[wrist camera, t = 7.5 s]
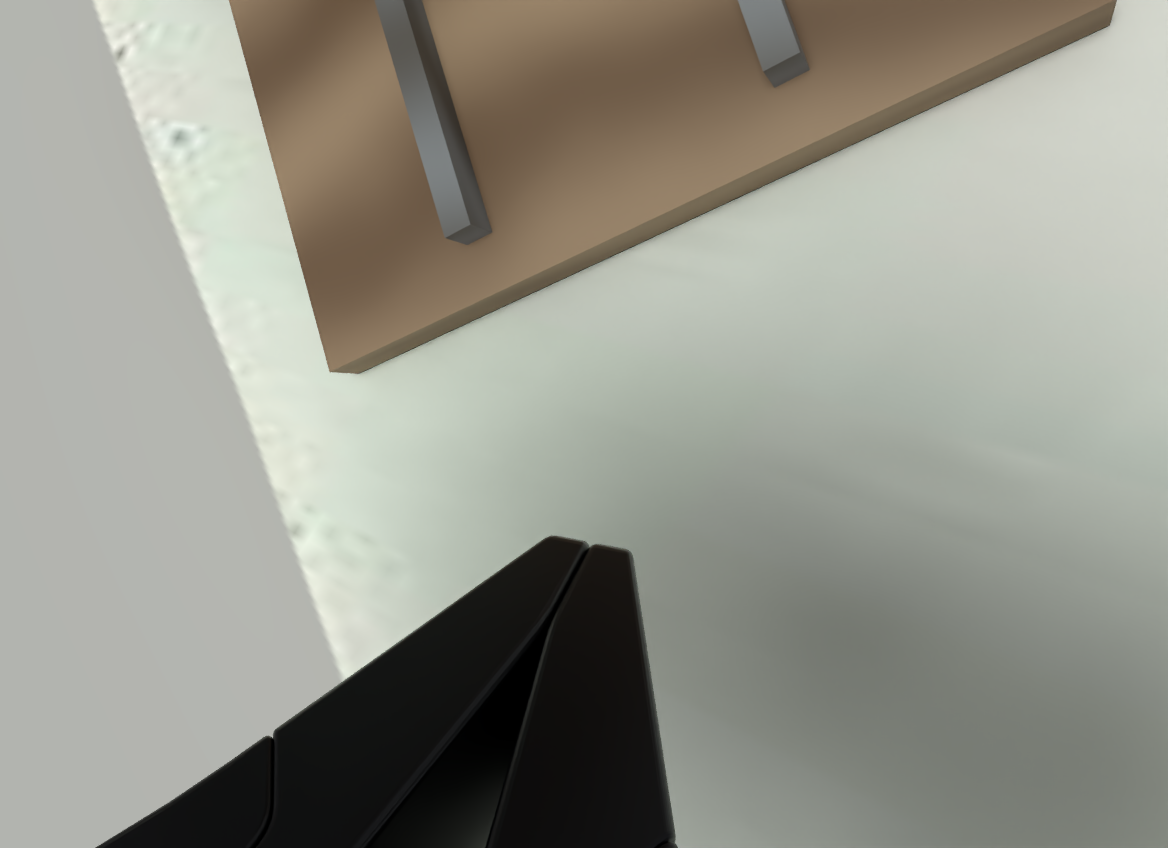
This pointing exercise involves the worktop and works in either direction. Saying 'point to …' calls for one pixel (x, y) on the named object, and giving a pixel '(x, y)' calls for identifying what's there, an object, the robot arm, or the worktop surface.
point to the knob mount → (573, 128)
